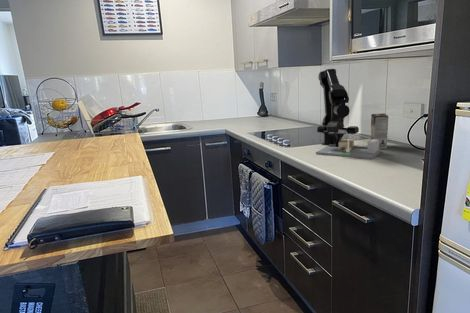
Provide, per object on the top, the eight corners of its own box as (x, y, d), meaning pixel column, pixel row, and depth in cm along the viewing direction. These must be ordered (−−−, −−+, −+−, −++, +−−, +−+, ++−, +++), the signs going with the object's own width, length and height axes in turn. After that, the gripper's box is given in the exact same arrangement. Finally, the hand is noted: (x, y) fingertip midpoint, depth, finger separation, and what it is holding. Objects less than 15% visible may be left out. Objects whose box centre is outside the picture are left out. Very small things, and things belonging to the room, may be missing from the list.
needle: (347, 151, 152) (347, 137, 151) (350, 151, 152) (350, 137, 150) (346, 151, 151) (346, 138, 150) (348, 152, 150) (349, 138, 149)
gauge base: (328, 147, 171) (328, 136, 169) (381, 151, 155) (381, 139, 154) (315, 154, 159) (315, 141, 158) (372, 159, 144) (372, 145, 142)
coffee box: (370, 145, 171) (370, 113, 167) (383, 144, 169) (384, 113, 166) (373, 148, 162) (374, 116, 158) (387, 148, 161) (389, 115, 157)
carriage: (343, 147, 164) (343, 139, 163) (353, 148, 161) (354, 140, 160) (334, 152, 155) (334, 144, 154) (345, 153, 152) (345, 144, 151)
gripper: (312, 116, 158) (312, 148, 162) (351, 117, 147) (351, 151, 151) (321, 113, 167) (321, 144, 170) (359, 114, 156) (358, 146, 159)
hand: (337, 146), depth 162 cm, fingers closed
